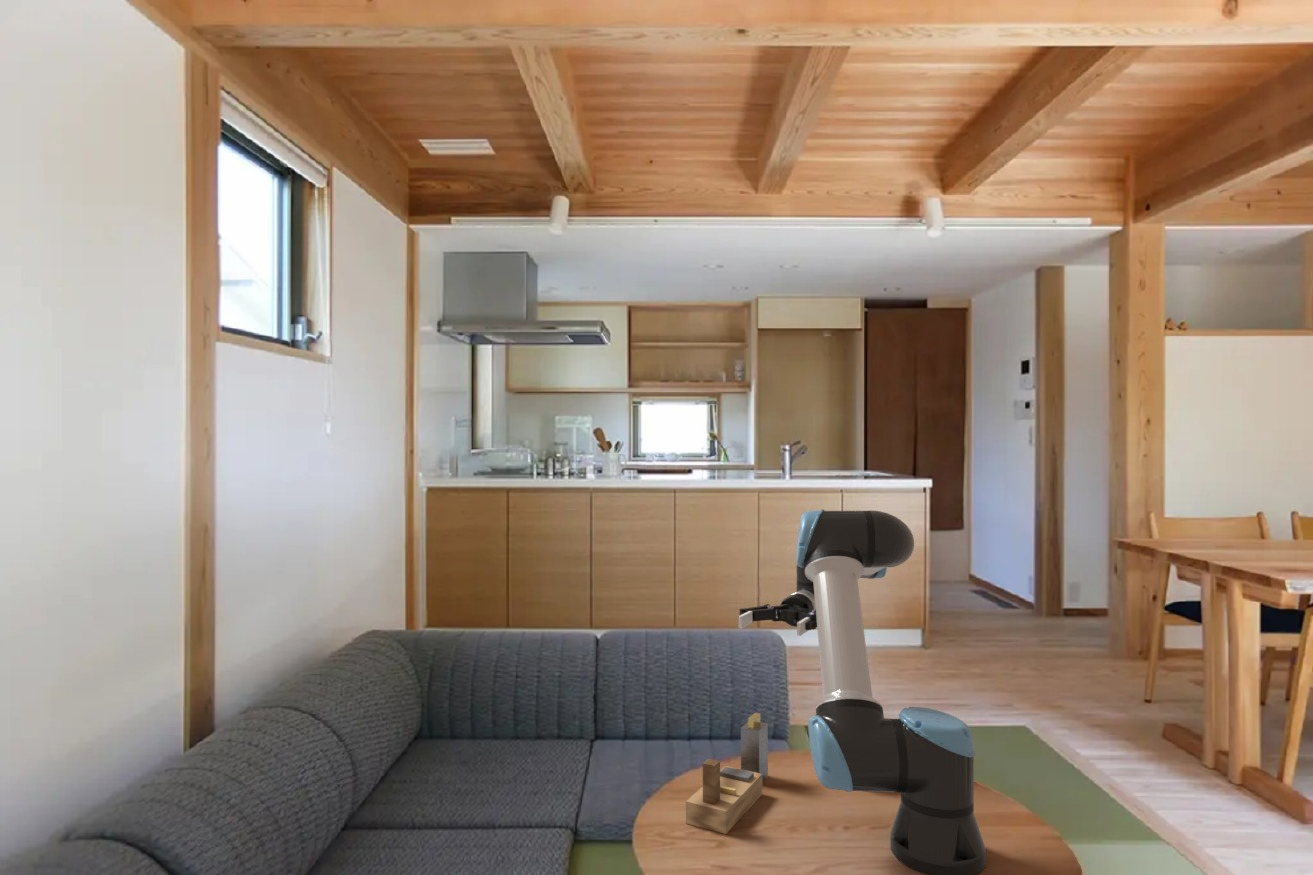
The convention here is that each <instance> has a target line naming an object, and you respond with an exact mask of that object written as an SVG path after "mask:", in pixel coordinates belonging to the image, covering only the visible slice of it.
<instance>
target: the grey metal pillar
mask: <svg viewBox="0 0 1313 875" xmlns="http://www.w3.org/2000/svg"><path fill="white" fill-rule="evenodd" d="M768 726H769V725H768V723H767V722H761V713H760V712H759V713H758V712H754V713H752V715H749V717H748V718H747V722H746V723H744V725H742V726H741V727H740V769H742V770H746V771H751V772H756V773H760V774H762V783H763V782H764V781H765V780H766V779H767V778H768V777H769V756H768V755H769V754H768V753H769V749H768V748H769V743H768V742H769V739H768V738H769V735H768V733H769V731H768V728H769V727H768Z"/></svg>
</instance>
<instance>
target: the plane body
mask: <svg viewBox="0 0 1313 875" xmlns="http://www.w3.org/2000/svg"><path fill="white" fill-rule="evenodd" d="M762 795H763V782H762V774H760V773H756V772H751V771H746V770H742V769H741V768H737V767H731V766H728V765H727V766H726V765H725V766H724V767H722V769H721V761H720V760H716V759H712V758H707V759H706V760H705V761H704V762H702V786H701V787H700V788H699V789H698V790H697V791H696V792H695V793H693V795H691V796H690V797H689V798H688V799H687V800H686V801H685V824H686V825H690V826H694V827H699V828H702V829H706V830H710V831H713V832H716V833H720V834H724V835H727V834H728V833H729V831H730V830H731V829H733V827H734V826H735V825H736V824H737V823H738V822H739V820H741V819H742V817H744V815H745V814H746V813H747V812H748V811H749V810H750V808H752V806H753V805H754V804H755V803H756V802H757V801H758V800H759V799H760V798H761V796H762Z"/></svg>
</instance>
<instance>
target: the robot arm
mask: <svg viewBox="0 0 1313 875" xmlns="http://www.w3.org/2000/svg"><path fill="white" fill-rule="evenodd" d="M914 549H915V540H914V535H913V533H912V530H911V529H910V528H909V526H908V525H907V524H906V523H905V522H904V521H902V520H901V519H900V518H898V517H897V516H894V515H892V514H890V513H888V512H884V511H881V510H825V509H820V510H807V511H805V512H803V513H802V514H801V517H800V520H799V528H798V538H797V544H796V556H795V560H796V562H795V565H796V586H795V587H796V592H794V593H792V594H790V595H788V596H786V597H785V598H784V599H783V600H782V601H781V603H780V604H779V605H772V606H771V604H768V603H767V604H764V605H758V606H752V607H751V606H750V607H744V608H739V616H738V629H741V630H742V629H744V628H746V627H748V626H750V625H752V624H753V622H762V621H771V622H772V621H773V622H775V623H777V622H784V623H785V624H787V625H789V626H790V627H796V634H797V636H798V637H799V636H803V635H804V634H805V633H807V632H809V631H812V630H813V631H814V630H817V639H818V652H819V664H820V673H821V685H822V686H821V687H822V700H821V701H820V702H819V703H818V704H817V705H816V707H815V715H813V716H810V717H809V719H808V722H807V723H808V725H807V726H808V730H807V731H808V737H809V740H808V741H809V746H810V747H809V748H810V754H811V758H812V763H813V768H814V771H815V774H816V777H817V779H818V781H819V782H820V784H821V785H822V786H823V787H825V788H826V789H828V790H836V791H845V792H847V793H851V792H878V793H879V792H880V793H881V792H882V793H900V803H899V807H898V808H897V812H896V816H895V818H894V821H893V824H892V827H891V830H890V834H889V836H890V840H889V842H890V850H891V853H892V854H893V855H894V857H895V858H896V859H897V860H899V862H901V863H902V864H904V865H906V866H907V867H909V868H911V869H913V870H915V871H918V872H920V873H923V874H927V875H977V874H979V873H981V872H982V871H983V870H984V869H985V867H986V864H987V862H986V861H987V857H986V856H987V855H986V853H987V852H986V851H987V850H986V846H985V842H984V840H983V837H982V833H981V831H980V827H979V824H978V822H977V819H976V816H975V806H974V805H975V802H974V801H975V800H974V798H975V797H974V796H975V794H974V793H975V792H974V790H975V789H974V784H975V783H974V782H975V780H974V778H975V777H974V774H975V773H974V757H975V754H976V753H975V751H974V740H973V739H974V738H973V733H972V730H971V728H970V726H969V725H968V724H967V723H966V722H964V721H963V720H961V719H960V718H958V717H956V716H954V715H952V714H950V713H946V712H944V711H942V710H941V711H940V710H938V709H937V710H936V709H933V708H929V707H928V708H927V707H921V706H909V707H904V708H902V709H901V710H900V713H899V714H898V718H887V717H885V716H884V708H883V705H882V704H881V703H880V702H879V701H878V700H876V699H875V698H874V697H873V691H872V684H871V676H870V668H869V661H868V652H867V651H868V650H867V645H866V637H865V630H864V622H863V612H862V605H861V598H860V591H859V590H860V589H859V581H858V580H859V579H868V580H869V579H871V580H874V579H882V578H885V576H886V573H887V572H888V571H887V569H888V568H895V567H899V566H900V565H902V564H904V563H905V562H907V561H908V560H909V559H910V557H911V556H912V554H913V551H914Z"/></svg>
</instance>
